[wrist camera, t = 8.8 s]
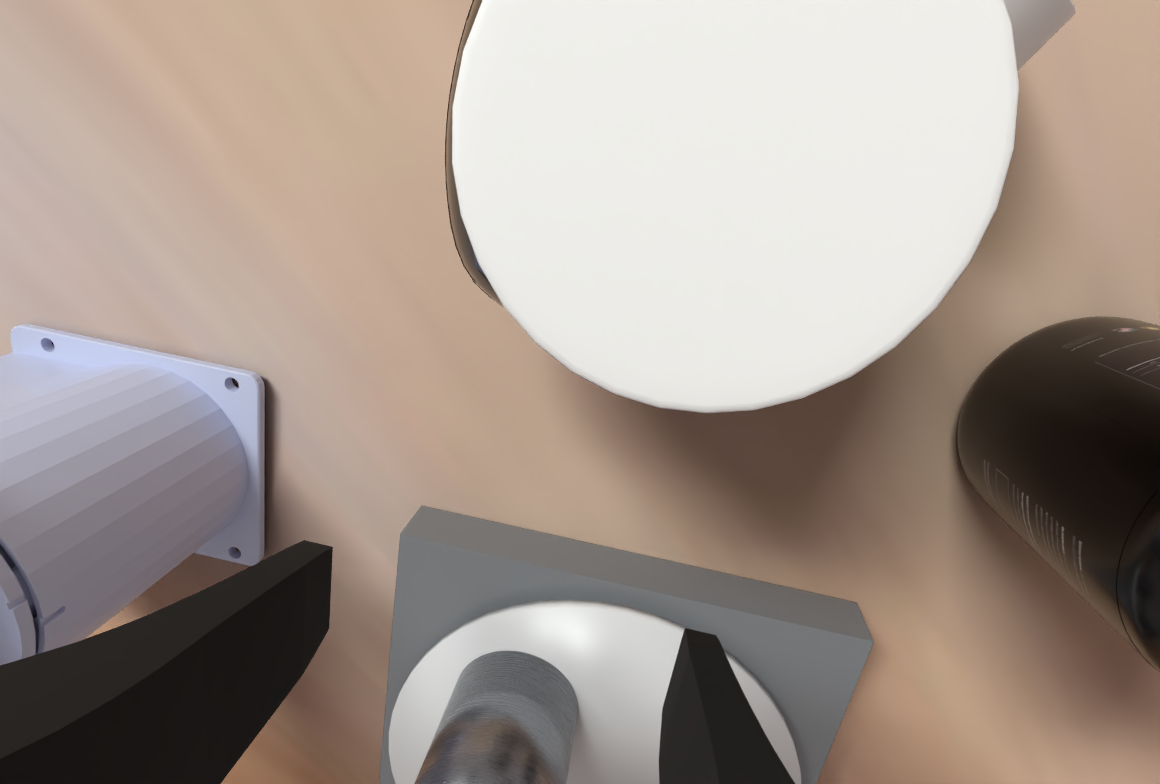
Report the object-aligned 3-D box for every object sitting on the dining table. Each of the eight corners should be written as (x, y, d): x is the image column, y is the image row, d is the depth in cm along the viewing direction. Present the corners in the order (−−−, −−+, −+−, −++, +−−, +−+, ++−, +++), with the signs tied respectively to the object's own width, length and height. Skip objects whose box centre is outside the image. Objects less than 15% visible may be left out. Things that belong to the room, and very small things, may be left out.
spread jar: (506, 263, 20) (318, 366, 10) (564, -170, 17) (362, -832, 6) (885, 339, 20) (1155, 546, 9) (1038, -97, 16) (1863, -705, 5)
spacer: (455, 739, 23) (386, 922, 18) (455, 641, 22) (381, 806, 16) (574, 759, 23) (543, 953, 17) (582, 661, 22) (552, 836, 16)
